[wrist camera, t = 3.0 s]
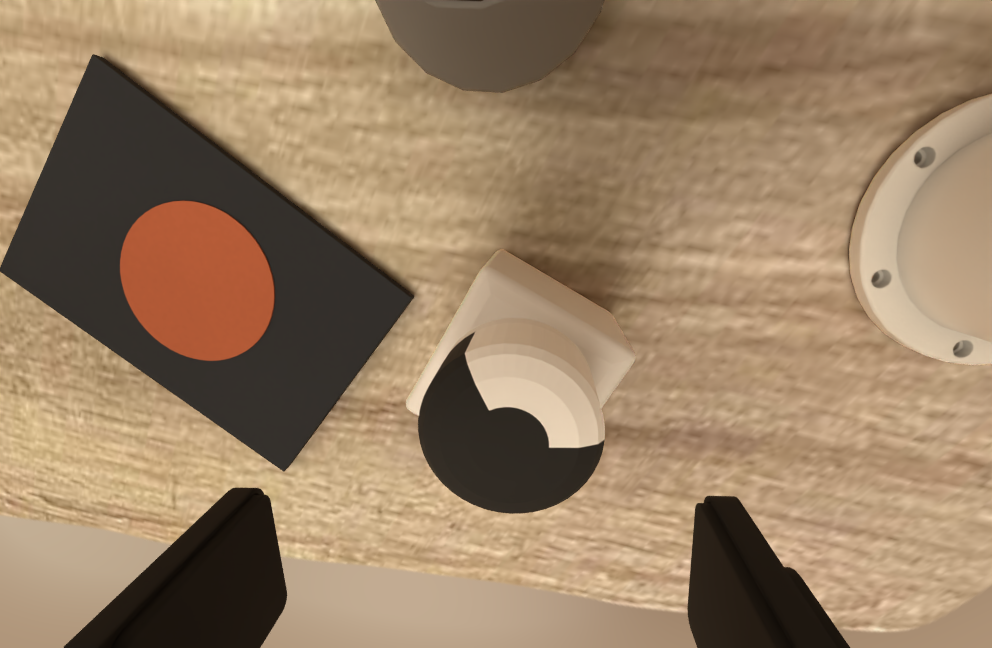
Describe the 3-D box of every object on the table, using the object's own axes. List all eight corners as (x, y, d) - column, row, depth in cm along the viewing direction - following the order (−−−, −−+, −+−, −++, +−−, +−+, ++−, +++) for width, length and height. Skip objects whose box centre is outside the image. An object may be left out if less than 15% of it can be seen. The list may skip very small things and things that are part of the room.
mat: (415, 296, 26) (411, 298, 25) (288, 466, 30) (283, 473, 29) (102, 56, 24) (90, 52, 24) (9, 269, 28) (-4, 270, 27)
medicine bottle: (544, 417, 27) (547, 578, 16) (436, 355, 27) (357, 474, 15) (614, 313, 25) (675, 411, 14) (499, 245, 25) (462, 287, 13)
